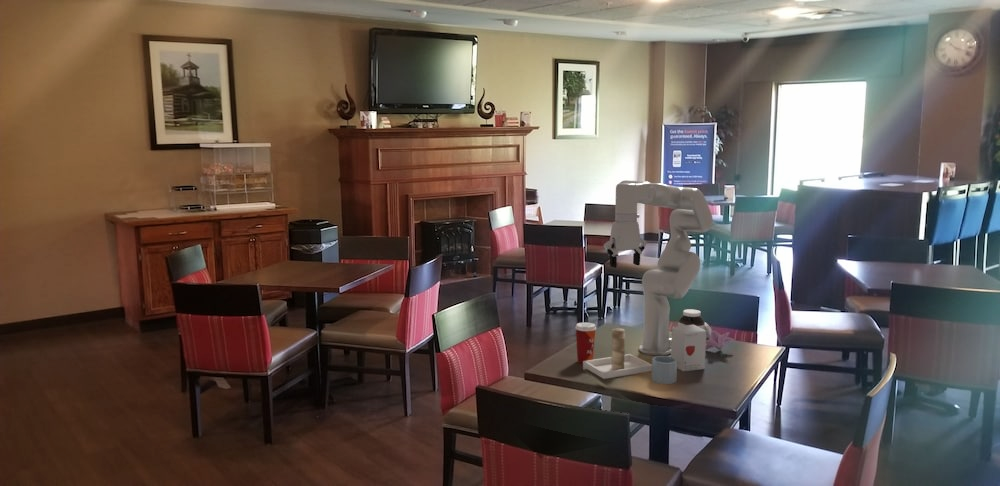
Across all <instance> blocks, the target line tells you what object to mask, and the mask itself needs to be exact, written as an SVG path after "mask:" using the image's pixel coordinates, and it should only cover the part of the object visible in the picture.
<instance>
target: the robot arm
mask: <svg viewBox="0 0 1000 486" xmlns="http://www.w3.org/2000/svg"><path fill="white" fill-rule="evenodd" d="M638 204H641V205H642V204H643V205H646V206H650V207H660V208H666V209H673V210H672V211H671V213H670V216H669V220H668V221H669V229H670V230H669V231H670V238H669V241H668V243H667V244H666V246H665V248H664V249H663V251H662V252H661V254H660V256H659V258H658V260H657V268H658V269H655V268H654V269H649V270H646V271H645V272H644V274H643V275H642V278H641V287H642V290H643V309H644V310H643V332H642V333H643V334H642V335H643V336H642V344H640V345H639V347H638V351H639V352H641V353H643V354H646V355H649V356H668V355H671V341H672V337H671V338H669V337H670V335H669V333H670V311H671V310H670V303H669V300H668V298H671V299H682V298H684V297H685V296H686V295H687V293H688V291H689V290H690V288H691V286H692V284H693V282H694V281H695V279H696V278H697V276H698V274H699V271H700V268H701V259H700V257H699V255H698V254H697V253H695V252H693V251H690V250H691V248H692V243H691V239H690V238H689V235H688V233H687V232H697V233H706V232H708V231H710V230H711V228H712V226H713V223H714V222H713V220H714V219H713V214H712V212H711V209H710V206H709V205H708V202H707V200H706V197H705V196H704V194H703V192H702V191H701V190H700V189H699V188H696V187H695V188H694V187H685V186H683V187H682V186H676V185H669V184H665V183H652V182H649V181H642V180H641V181H640V180H627V179H626V180H622V181H620V182H619V183H618V184H616V186H615V206H614V207H615V211H614V213H615V215H614V216H615V218H614V221H613V222H612V225H611V229H610V230H611V231H610V237H609V240H608V241H606V242H605V243H603V248H604V250H605V252H606V254H608V256H609V266H610V268H611V267H612V268H617V265H618V262H617V261H618V259H617V256H616V255H617V254H618V252H622V251H624V252H625V251H633V254H632V255H633V256H632V259H633V260H632V264H633V265H634V266H640V265H641V255H642V253H643V251H644V250H645V249H646V245H647V243H648V241H647V240H645V239H644V238H641V234H640V233H641V231H640V225H639V222H638V218H640V214H639V213H638Z"/></svg>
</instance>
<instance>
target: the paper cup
mask: <svg viewBox="0 0 1000 486" xmlns="http://www.w3.org/2000/svg"><path fill="white" fill-rule="evenodd" d="M574 328H575V336H576V337H575V338H576V340H575V341H576V355H577V358H576V359H577V362H578V363H579V364H582V365H583V361H587V360H593V359H594V353H595V339H596V330H597V327H596V324H594V323H592V322H578V323H576V326H575V327H574Z"/></svg>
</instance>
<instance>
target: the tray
mask: <svg viewBox="0 0 1000 486" xmlns="http://www.w3.org/2000/svg"><path fill="white" fill-rule="evenodd" d="M582 370H583V371H584V370H588V371H590V372H591V373H593V374H595V375H596V376H598V377H600V378H602V379H603V380H605V379H612V378H616V377H618V378H619V377H623V376H631V375H636V374H640V373H641V374H642V373H643V374H644V373H648V372H652V363H650V362H648V361H646V360H644V359H642V358H640V357H638V356H636V355H634V354H632V353H628V354H624V369H619V370H613V369H612V356H608V357H602V358H601V357H600V358H596V359H595V358H593V360H587V361H583V364H582Z"/></svg>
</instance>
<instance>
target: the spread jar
mask: <svg viewBox="0 0 1000 486" xmlns="http://www.w3.org/2000/svg"><path fill="white" fill-rule="evenodd" d="M678 319H679V320H678V323H677V326H682V325H696V326H698V327H700V328H702V329H704V330H706V339H707V338H708V339H707V340H709V339H710V334H711V331H712V330H713V329H711V326H710V325H709V324H708V323H707V322H705V320H704V318H703V317H702V316H701V311H700V310H697V309H692V308H690V309H688V308H687V309H683V311H682V316H680V318H678Z"/></svg>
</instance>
